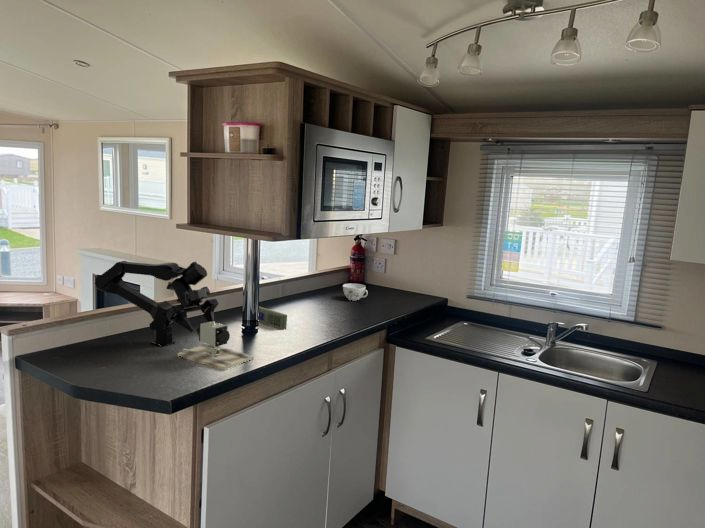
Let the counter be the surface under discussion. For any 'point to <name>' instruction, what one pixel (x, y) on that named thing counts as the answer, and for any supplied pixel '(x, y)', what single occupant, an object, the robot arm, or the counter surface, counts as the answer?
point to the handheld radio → (272, 318)
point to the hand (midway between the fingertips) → (203, 329)
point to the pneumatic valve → (213, 336)
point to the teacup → (354, 291)
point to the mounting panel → (216, 357)
